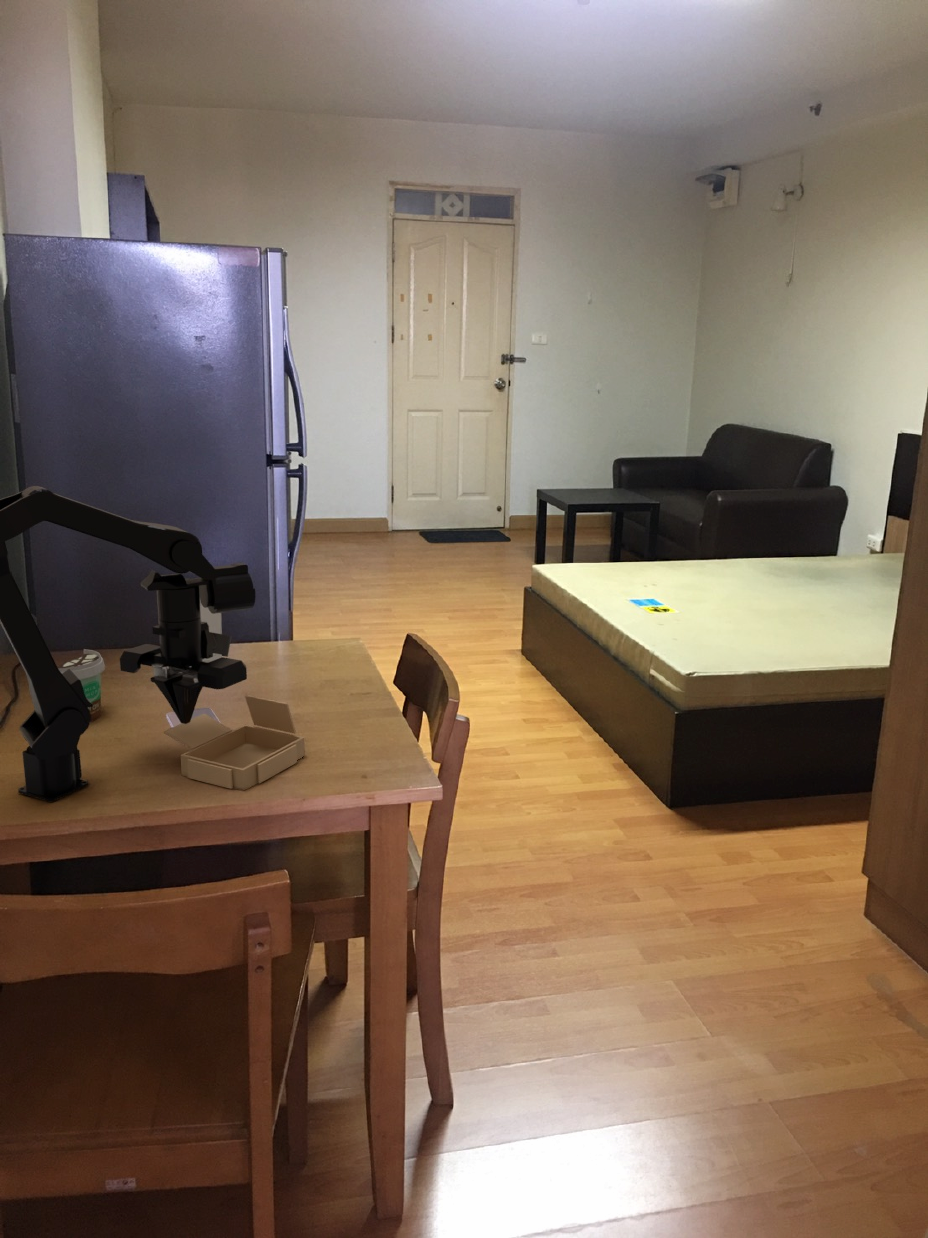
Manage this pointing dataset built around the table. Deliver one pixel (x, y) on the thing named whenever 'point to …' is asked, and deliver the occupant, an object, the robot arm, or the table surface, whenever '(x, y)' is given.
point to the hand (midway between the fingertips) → (185, 722)
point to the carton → (243, 757)
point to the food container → (88, 677)
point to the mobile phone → (175, 721)
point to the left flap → (197, 731)
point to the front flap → (270, 714)
